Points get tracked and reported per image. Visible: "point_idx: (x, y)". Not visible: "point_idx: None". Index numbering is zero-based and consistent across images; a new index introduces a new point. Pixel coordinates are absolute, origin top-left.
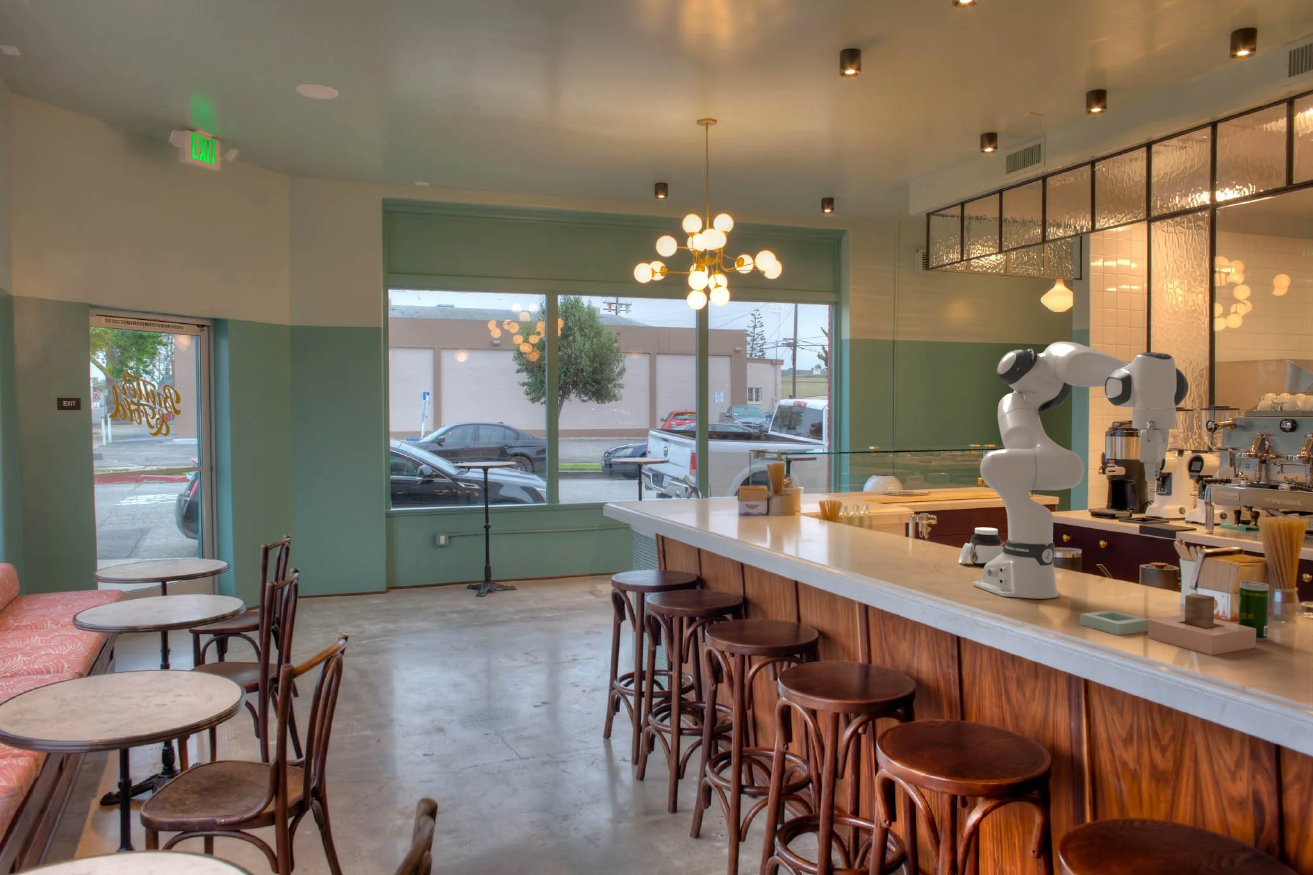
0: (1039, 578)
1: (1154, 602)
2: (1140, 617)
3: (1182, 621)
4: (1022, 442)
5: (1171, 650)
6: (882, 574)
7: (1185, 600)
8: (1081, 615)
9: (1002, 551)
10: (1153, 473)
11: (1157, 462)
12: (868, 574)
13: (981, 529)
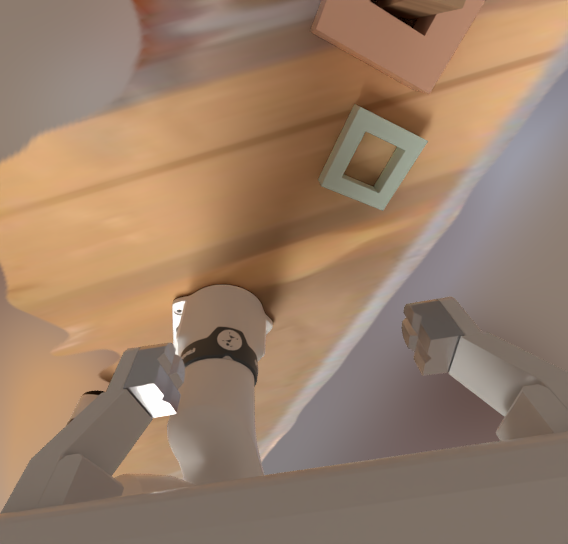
0: (246, 316)
1: (106, 168)
2: (351, 127)
3: (408, 26)
4: None
5: (492, 23)
6: (258, 421)
7: (455, 9)
8: (383, 208)
9: (80, 408)
10: (494, 339)
11: (89, 479)
12: (269, 425)
13: None
